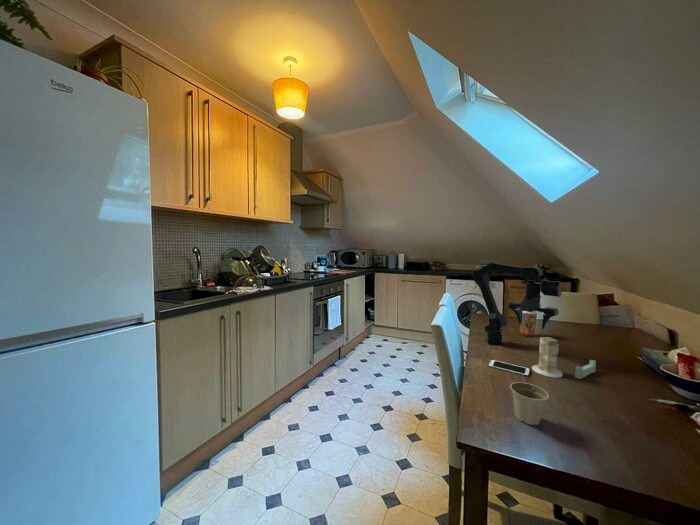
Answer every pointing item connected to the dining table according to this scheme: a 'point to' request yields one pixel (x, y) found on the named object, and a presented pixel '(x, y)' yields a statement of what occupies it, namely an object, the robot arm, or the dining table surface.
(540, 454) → the dining table surface
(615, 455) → the dining table surface
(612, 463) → the dining table surface
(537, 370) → the coaster
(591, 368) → the fence
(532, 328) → the smoothie
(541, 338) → the beech block
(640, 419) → the dining table surface
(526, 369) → the cell phone
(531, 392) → the flower pot
